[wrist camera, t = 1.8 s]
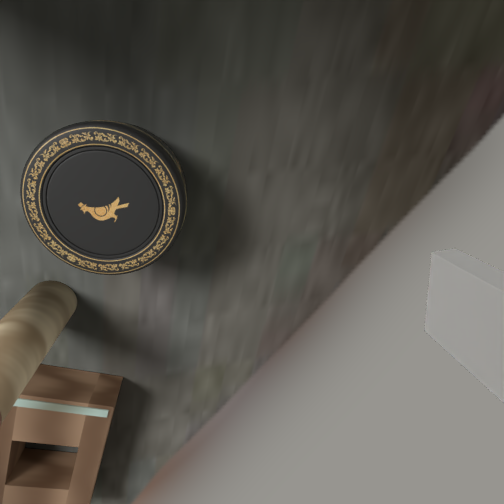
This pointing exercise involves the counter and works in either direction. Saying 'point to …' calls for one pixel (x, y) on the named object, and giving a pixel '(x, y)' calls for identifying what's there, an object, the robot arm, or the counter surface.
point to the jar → (104, 196)
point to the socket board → (56, 436)
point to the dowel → (31, 336)
